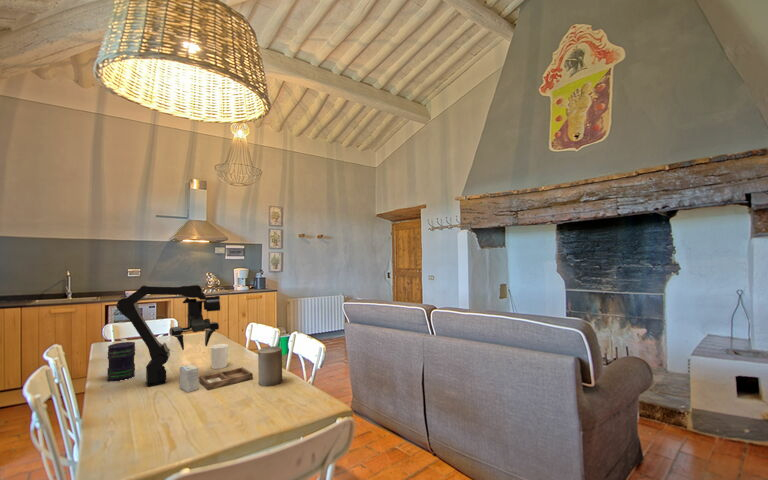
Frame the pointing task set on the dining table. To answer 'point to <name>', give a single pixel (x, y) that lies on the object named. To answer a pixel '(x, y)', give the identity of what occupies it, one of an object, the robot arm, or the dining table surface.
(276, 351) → the pillar candle
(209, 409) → the dining table surface
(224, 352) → the white cup
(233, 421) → the dining table surface
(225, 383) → the tray
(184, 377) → the medicine box
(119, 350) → the storage jar
